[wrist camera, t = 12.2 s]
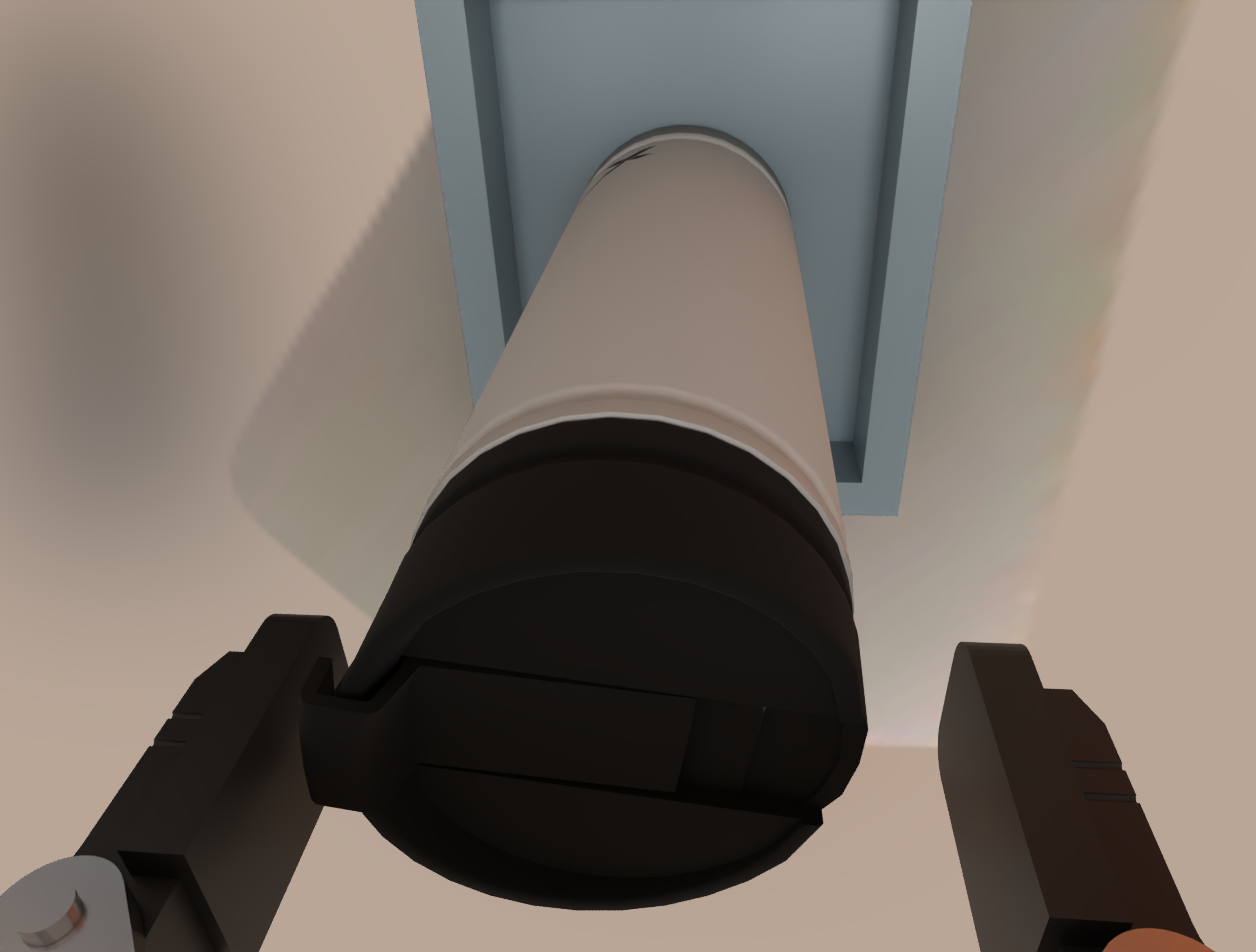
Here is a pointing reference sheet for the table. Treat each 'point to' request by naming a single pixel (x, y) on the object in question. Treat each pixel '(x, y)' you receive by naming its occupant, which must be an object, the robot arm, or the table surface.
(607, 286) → the travel mug
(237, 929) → the robot arm
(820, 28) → the slate tray
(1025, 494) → the table surface
